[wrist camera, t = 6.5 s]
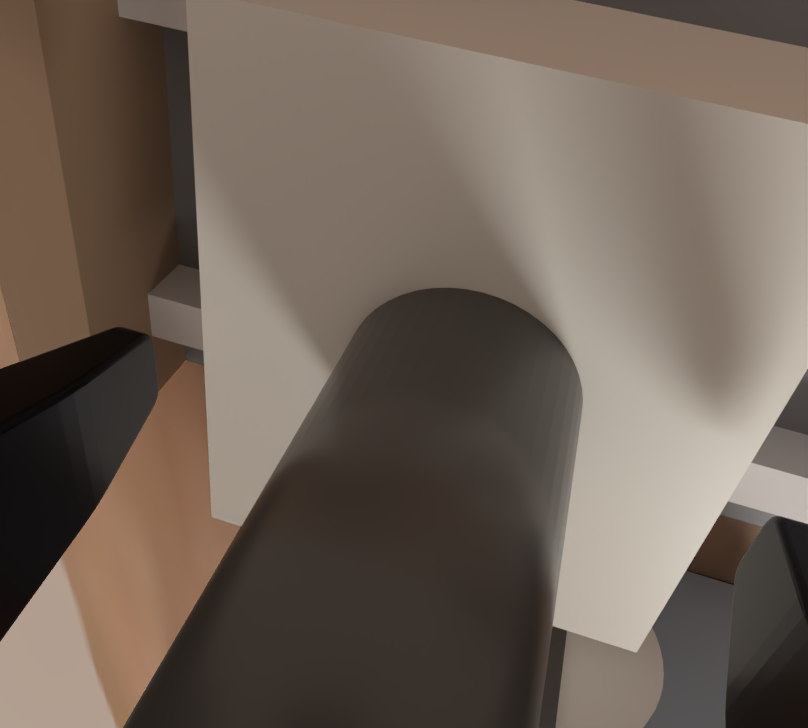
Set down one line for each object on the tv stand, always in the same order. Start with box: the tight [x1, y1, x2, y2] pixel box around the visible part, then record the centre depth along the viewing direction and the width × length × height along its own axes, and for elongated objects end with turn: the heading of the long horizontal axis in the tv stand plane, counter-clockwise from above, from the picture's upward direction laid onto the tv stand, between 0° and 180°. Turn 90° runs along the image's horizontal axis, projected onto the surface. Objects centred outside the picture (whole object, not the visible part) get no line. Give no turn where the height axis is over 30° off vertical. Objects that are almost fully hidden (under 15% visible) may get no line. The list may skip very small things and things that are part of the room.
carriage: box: [123, 0, 808, 728], centre depth 8 cm, size 8×7×9 cm
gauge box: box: [539, 571, 734, 728], centre depth 17 cm, size 6×10×6 cm, turn 83°
